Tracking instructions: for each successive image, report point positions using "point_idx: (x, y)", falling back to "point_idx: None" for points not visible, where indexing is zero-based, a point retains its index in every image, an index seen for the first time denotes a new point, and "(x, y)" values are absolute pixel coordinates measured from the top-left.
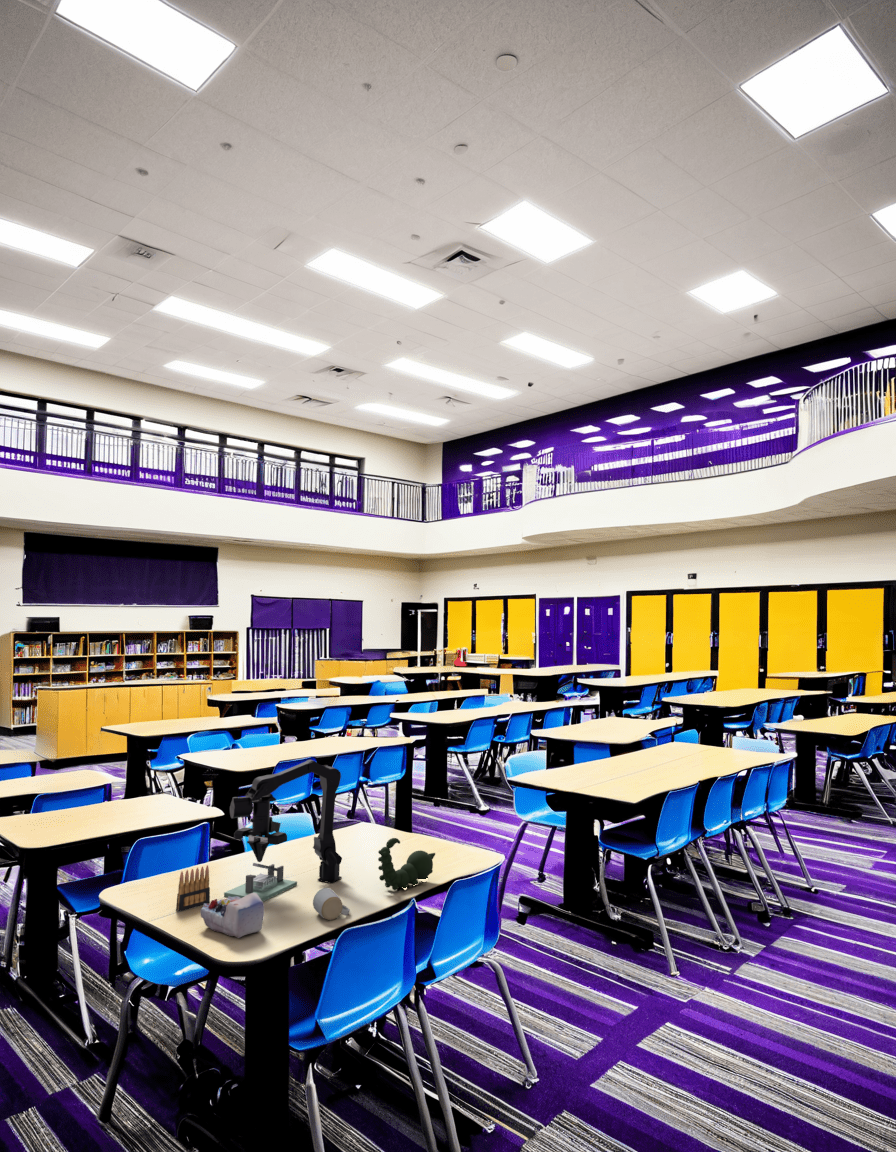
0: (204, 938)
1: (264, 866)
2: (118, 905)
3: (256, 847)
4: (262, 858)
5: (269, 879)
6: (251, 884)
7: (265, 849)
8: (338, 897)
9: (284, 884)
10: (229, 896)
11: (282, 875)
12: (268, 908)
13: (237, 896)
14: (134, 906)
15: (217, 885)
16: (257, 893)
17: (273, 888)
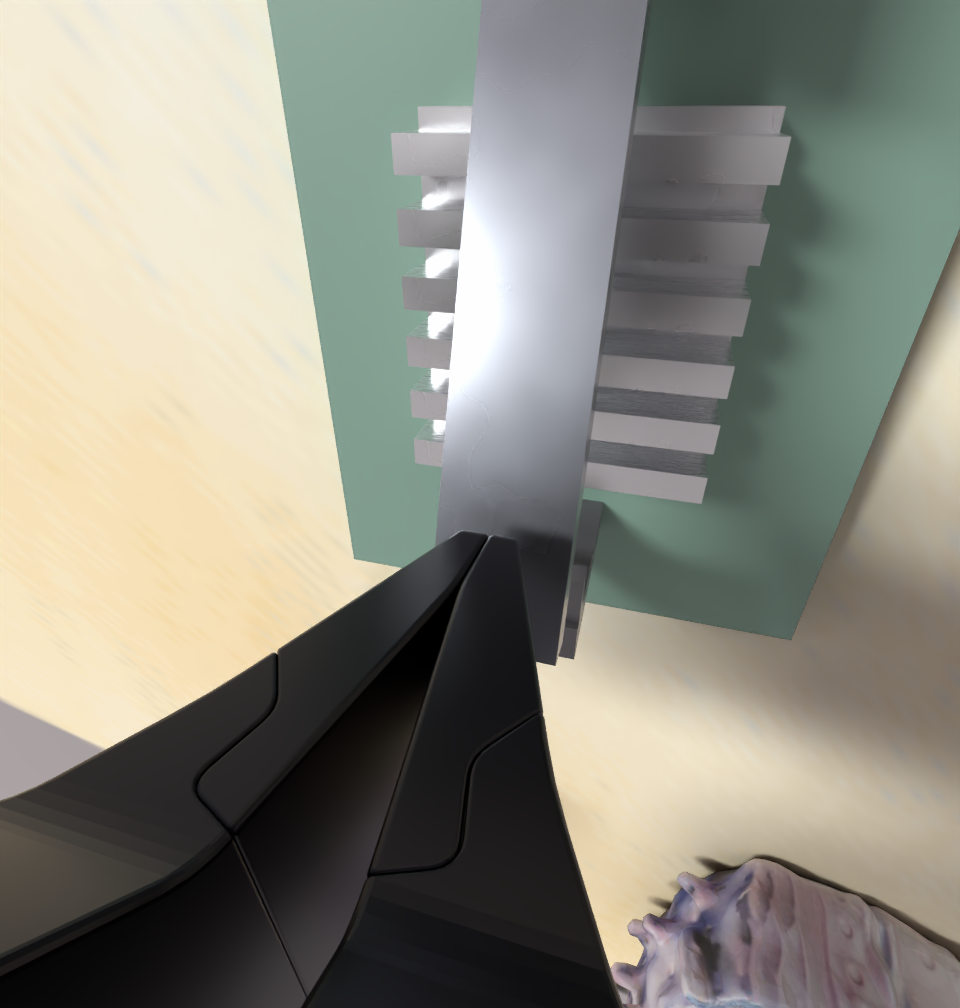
0: None
1: (588, 433)
2: (70, 730)
3: (303, 978)
4: (523, 580)
5: (718, 333)
6: (587, 586)
7: (557, 821)
8: None
9: (921, 4)
10: (697, 1002)
11: None
12: (945, 703)
13: (762, 1005)
14: (128, 735)
15: (87, 319)
16: (671, 514)
17: (791, 291)
